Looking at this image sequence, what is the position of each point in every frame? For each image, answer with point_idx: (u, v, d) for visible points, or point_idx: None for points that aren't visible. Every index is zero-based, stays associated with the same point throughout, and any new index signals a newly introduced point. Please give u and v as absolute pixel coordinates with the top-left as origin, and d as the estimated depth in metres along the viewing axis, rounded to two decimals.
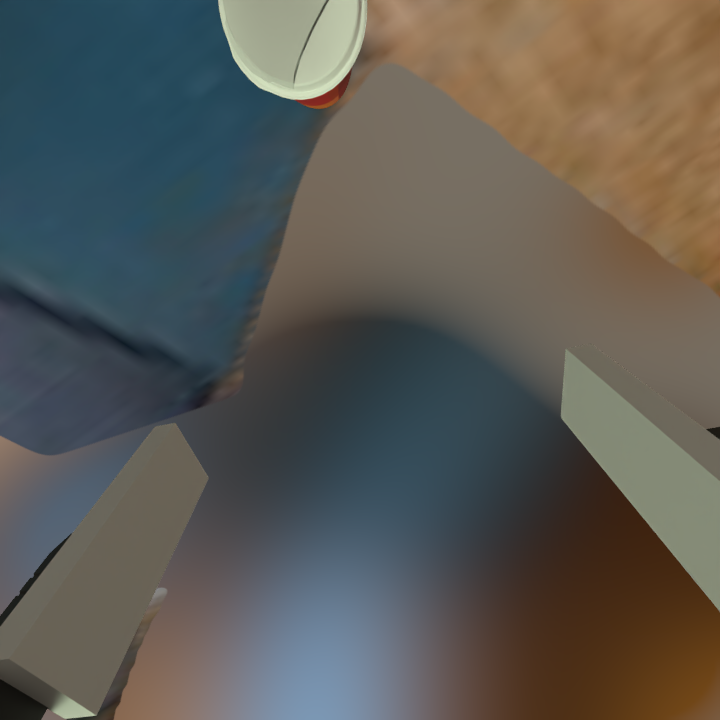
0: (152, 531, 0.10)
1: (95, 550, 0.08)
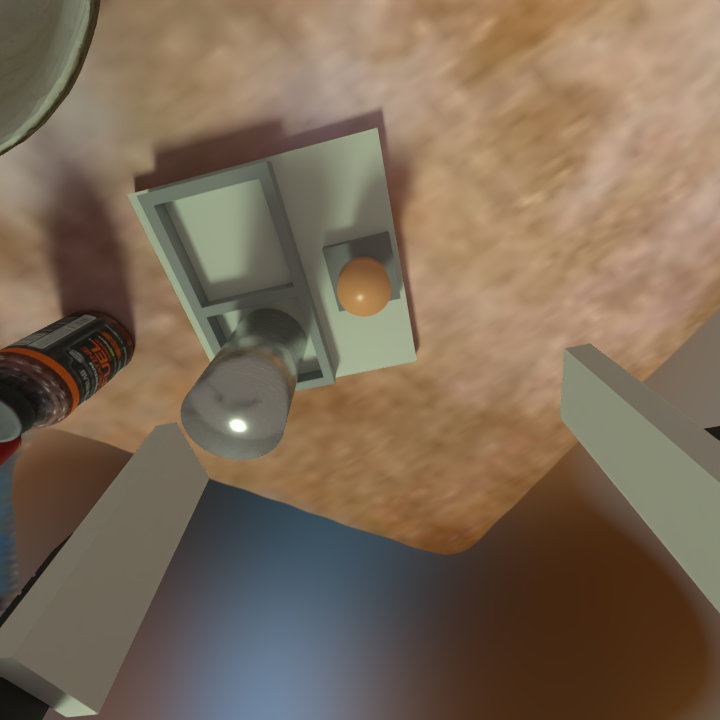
0: (153, 530, 0.10)
1: (97, 549, 0.08)
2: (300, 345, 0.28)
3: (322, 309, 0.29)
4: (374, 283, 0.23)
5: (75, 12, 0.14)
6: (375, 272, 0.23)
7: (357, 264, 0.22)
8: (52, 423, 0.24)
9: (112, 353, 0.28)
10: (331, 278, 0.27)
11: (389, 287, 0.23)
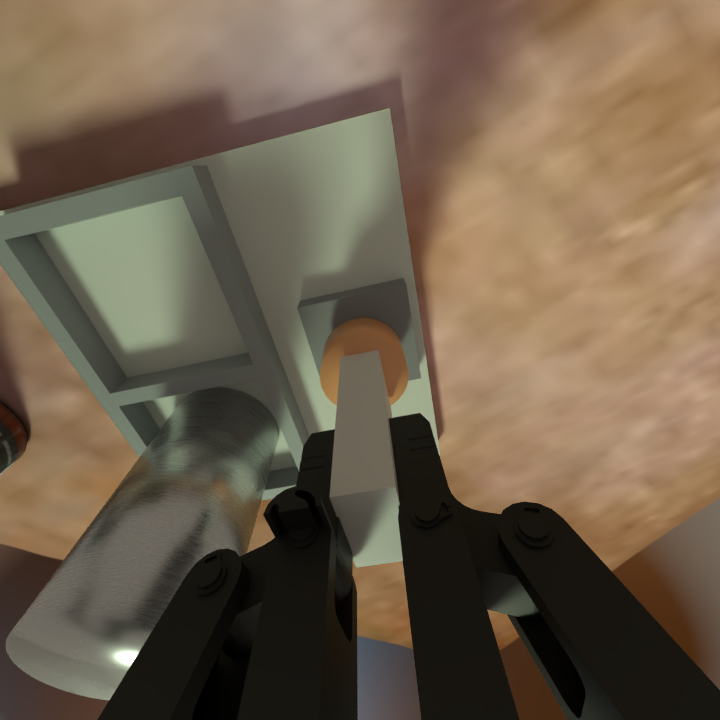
0: None
1: None
2: (265, 449, 0.18)
3: (301, 388, 0.19)
4: None
5: None
6: (383, 351, 0.14)
7: (353, 338, 0.13)
8: None
9: None
10: (313, 350, 0.17)
11: (405, 372, 0.14)
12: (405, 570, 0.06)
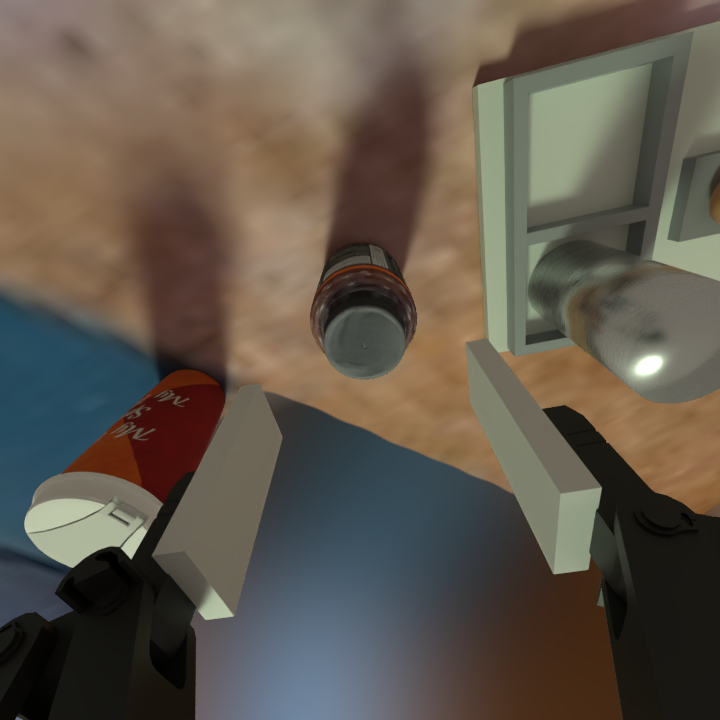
0: (253, 473, 0.11)
1: (222, 479, 0.09)
2: None
3: None
4: None
5: None
6: None
7: None
8: None
9: None
10: (690, 197, 0.22)
11: None
12: (632, 570, 0.05)
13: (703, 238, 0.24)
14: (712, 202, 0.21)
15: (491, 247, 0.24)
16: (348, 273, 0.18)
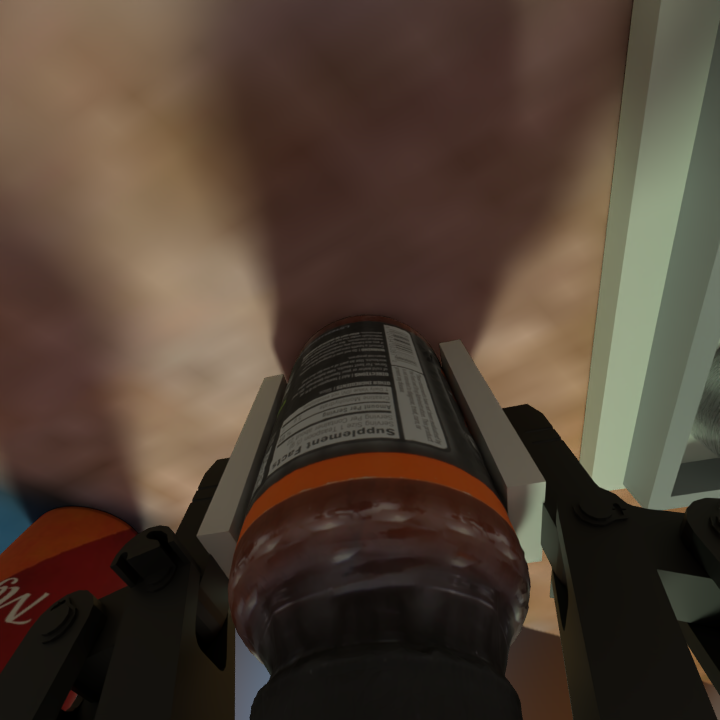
0: None
1: (256, 464, 0.10)
2: None
3: None
4: None
5: None
6: None
7: None
8: None
9: None
10: None
11: None
12: (570, 562, 0.06)
13: None
14: None
15: (627, 326, 0.12)
16: (333, 508, 0.05)
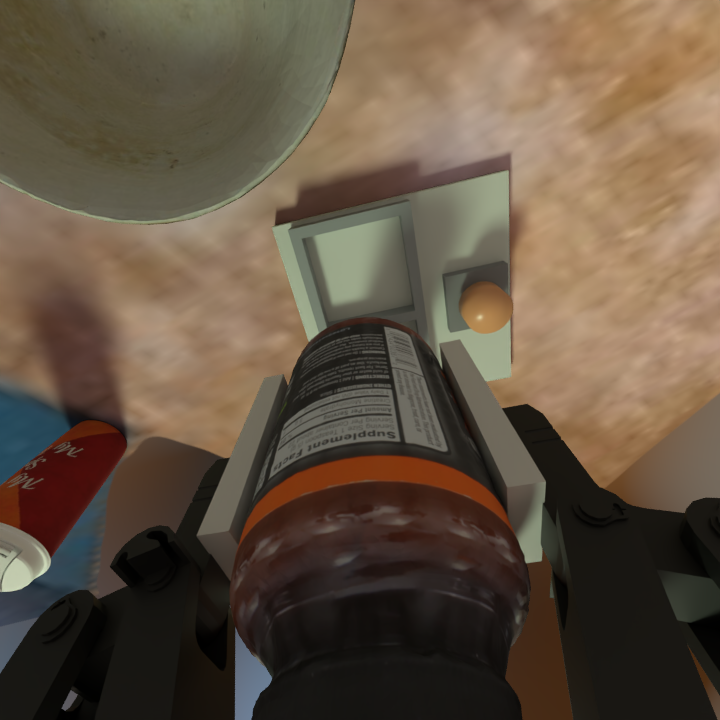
0: None
1: (256, 465, 0.10)
2: None
3: (431, 329, 0.31)
4: (499, 305, 0.26)
5: (315, 91, 0.17)
6: (501, 296, 0.26)
7: (487, 289, 0.26)
8: None
9: None
10: (448, 303, 0.29)
11: (511, 309, 0.26)
12: (570, 562, 0.06)
13: None
14: (459, 309, 0.28)
15: (311, 334, 0.31)
16: (335, 512, 0.06)
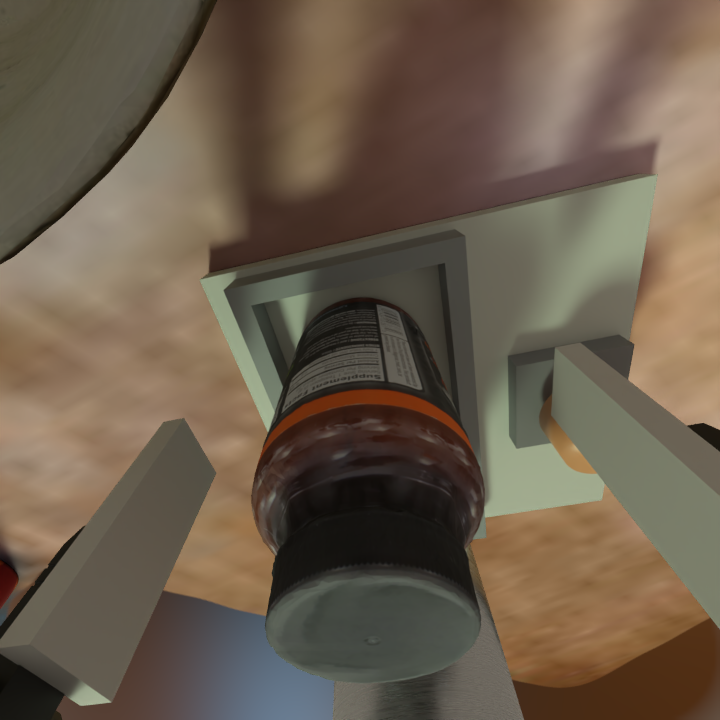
0: (163, 524, 0.10)
1: (109, 541, 0.08)
2: None
3: (481, 438, 0.19)
4: None
5: None
6: None
7: None
8: None
9: None
10: (518, 406, 0.17)
11: None
12: None
13: None
14: (540, 422, 0.16)
15: None
16: (333, 423, 0.07)
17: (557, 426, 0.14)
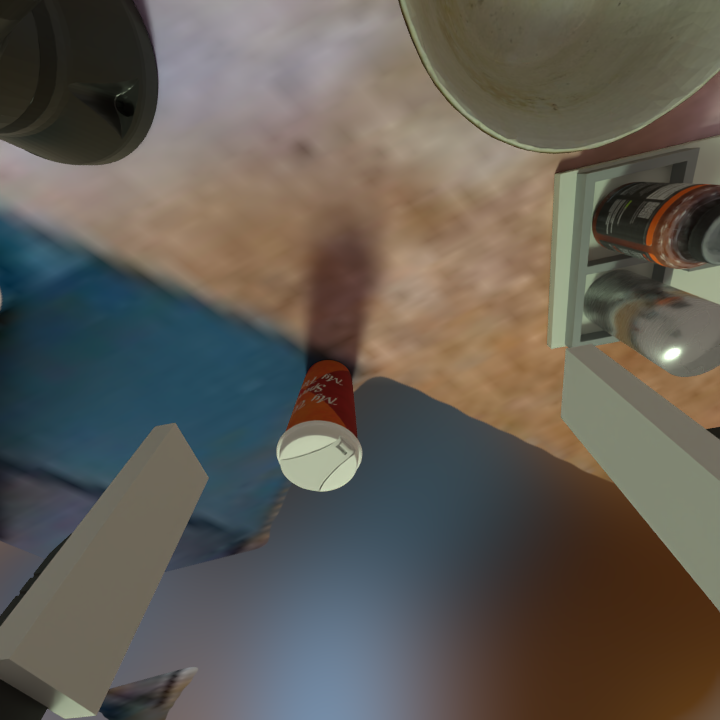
0: (152, 531, 0.10)
1: (95, 550, 0.08)
2: None
3: None
4: None
5: None
6: None
7: None
8: None
9: None
10: None
11: None
12: None
13: (705, 268, 0.35)
14: None
15: (559, 274, 0.36)
16: (707, 187, 0.24)
17: None
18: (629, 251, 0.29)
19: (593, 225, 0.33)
